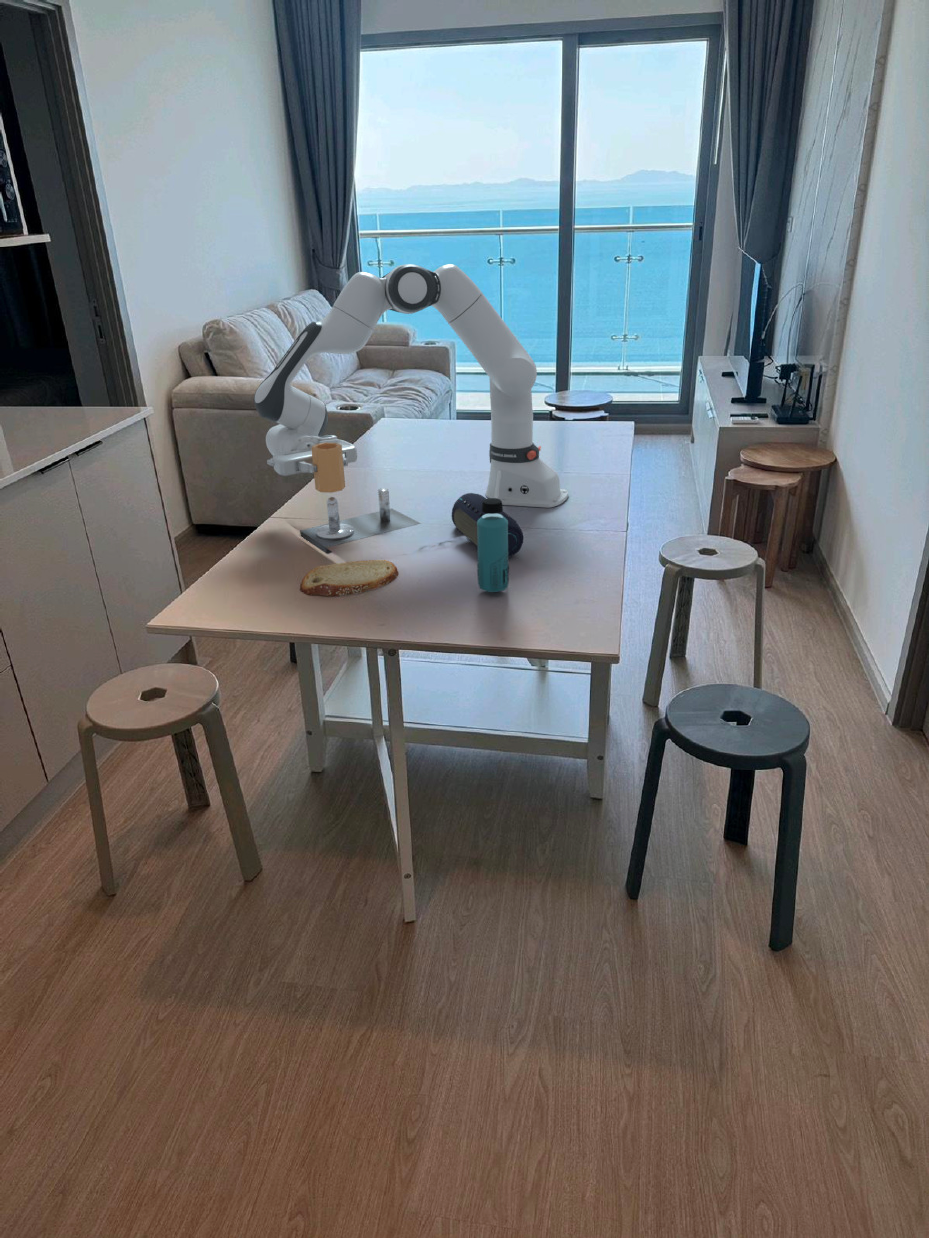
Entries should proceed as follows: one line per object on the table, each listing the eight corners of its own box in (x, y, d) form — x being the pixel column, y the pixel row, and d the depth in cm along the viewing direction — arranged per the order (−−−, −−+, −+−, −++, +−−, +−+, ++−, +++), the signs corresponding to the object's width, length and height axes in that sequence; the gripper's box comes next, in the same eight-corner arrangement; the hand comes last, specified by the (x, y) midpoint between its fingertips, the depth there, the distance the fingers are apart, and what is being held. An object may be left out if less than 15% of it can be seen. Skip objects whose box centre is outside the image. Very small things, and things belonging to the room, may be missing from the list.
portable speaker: (446, 530, 205) (445, 491, 200) (484, 524, 208) (483, 486, 203) (487, 567, 184) (487, 525, 179) (527, 560, 187) (528, 518, 183)
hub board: (392, 513, 216) (389, 474, 211) (420, 529, 206) (419, 487, 201) (300, 536, 203) (295, 494, 198) (326, 553, 192) (322, 510, 188)
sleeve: (336, 482, 199) (332, 441, 194) (349, 488, 194) (345, 446, 190) (311, 487, 196) (307, 445, 191) (324, 494, 191) (320, 451, 186)
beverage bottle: (506, 600, 169) (506, 506, 160) (474, 597, 170) (472, 504, 161) (511, 586, 174) (511, 495, 165) (480, 584, 176) (479, 494, 166)
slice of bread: (404, 570, 184) (403, 555, 182) (371, 605, 169) (370, 588, 167) (331, 562, 189) (329, 547, 187) (293, 595, 174) (290, 578, 172)
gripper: (262, 447, 195) (287, 460, 185) (340, 433, 205) (367, 445, 195) (265, 473, 198) (290, 488, 188) (342, 458, 208) (369, 471, 198)
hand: (330, 466), depth 192 cm, fingers closed on sleeve, 6 cm apart
